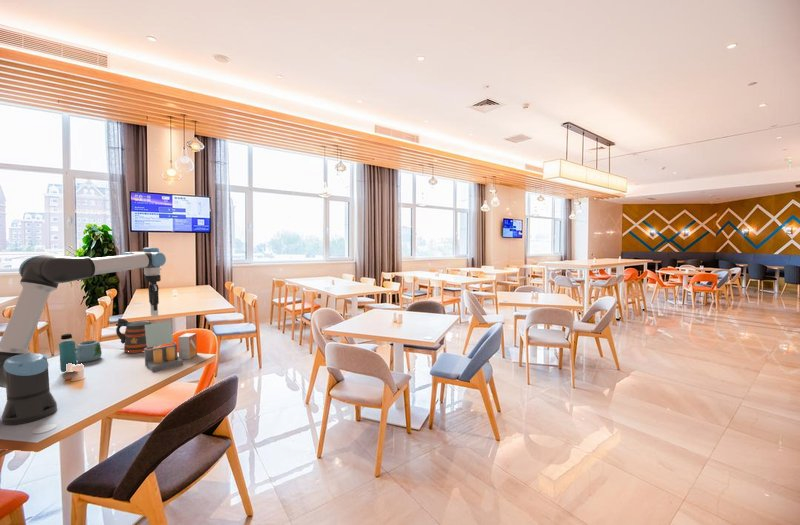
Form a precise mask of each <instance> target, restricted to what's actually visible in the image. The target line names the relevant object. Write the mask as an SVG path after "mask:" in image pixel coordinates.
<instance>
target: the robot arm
mask: <svg viewBox="0 0 800 525" xmlns="http://www.w3.org/2000/svg"><path fill="white" fill-rule="evenodd" d="M166 262H167V258H166V256H165V254H164V253H163V252H160V249H159V248H158V247H155V246H153V247H143V249H142V251H128V252H127V251H125V252H123V253H122V254H120V255H113V256H102V257H92V258H91V257H89V256H79V257H77V256H65V255H64V256H63V255H45V254H44V255H43V254H41V255H40V254H39V255H34V256H31V257H28V258H26V259H24V261H22V262H21V264H20V265H19V268H18V272H19V275H20V277H21V279H20V281H19V284H20V286H21V287H22V289H21V292H20V295H19V296H18V299H17V301H16V302H15V303H16V304H15V306H14V309H13V310H12V313H11V316H10V318H9V320H8V322H7V324H6V327H5V329H4V332H3V334H2V337H1V339H0V388H4V389H5V392H6V393H5V394H6V403H5V405H4V409H3V412H2V414H1V423H2V424H3V425H6V426H14V425H22V424H26V423H31V422H34V421H37V420H40V419H44V418H46V417H49V416H50V415H52V414H54V413H55V412H57V410H58V403H57V401H56V399H55V397H54V396H53V394H52V393H51V390H50V389H51V388H50V378H49V377H50V376H49V362H48V357H47V356H46V355H44V354H43V353H37V352H36V353H35V352H34V353H32V352H31V350H29V346H30V344H31V341H32V340H33V336H34V334H35V331H36V330H37V326H38V324H39V321H40V319H41V316H42V315H43V312H44V309H45V307H46V304H47V302H48V299H49V297H50V294H51V292H54V291H57V290H58V286H59V284H64V283H65V284H66V283H70V282H75V281H76V282H77V281H81V280H86V279H90V278H91V279H92V278H94V276H96V275H103V274H109V273H118V272H124V271H128V270H129V271H131V270H138V269H143V275H144V282H145V283H148V284H149V285H148V284H147V289H148V299H149V300H148V302H149V305H150V316H152V317H158V316H159V304H160V302H159V301H160V300H159V289H160V288H159V285H158V283H157V282H161V281H162V280H161V277H162V276H161V270H162V268H161V267H163V266H164V265H165V264H166Z"/></svg>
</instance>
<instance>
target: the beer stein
mask: <svg viewBox="0 0 800 525" xmlns="http://www.w3.org/2000/svg"><path fill="white" fill-rule="evenodd" d="M148 324H152V322H151V321H143V320H139V321H128V320H127V319H125V318H118V319H117V323H115V327H116V328H115V331H116V335H117V337H118V338H119V339H120V340H121V341H120V343H122V345H124V346H123V347H124V352H125V353H126V352H127V354H138V353H139V354H140V353H144V348H147V343H146V334H145V325H148ZM122 327H126V328H125V331H124V332H125V333H122V332H121V330H120V329H121V328H122ZM153 348H154V347H148V348H147V350H148V349H153ZM128 351H129V352H128Z"/></svg>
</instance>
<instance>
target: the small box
mask: <svg viewBox="0 0 800 525" xmlns="http://www.w3.org/2000/svg"><path fill="white" fill-rule="evenodd" d="M197 335H198V334H197V333H195V332H186V333H184V334H181V335H180V336H178V337H177V340H178V341H177V342H178V343H177V345H178V357H179V358H181V359H182V360H190V359H192V358H194V357H195V356H197V355H198V341H197V340H198V339H197V338H198V337H197ZM196 354H197V355H196Z"/></svg>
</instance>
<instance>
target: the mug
mask: <svg viewBox="0 0 800 525" xmlns="http://www.w3.org/2000/svg"><path fill="white" fill-rule="evenodd" d="M101 346H102V345H101V342H100V341H99V340H87V341H82V342H79V343H78V344H76V356H77V357H76V360H77V362H78V363H79V362H80V363H88V362H93V361H97V360H99V359H100V358H101V357H102V354H103V353H102V348H101Z"/></svg>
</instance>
